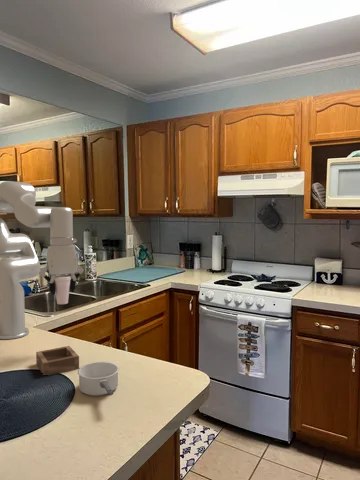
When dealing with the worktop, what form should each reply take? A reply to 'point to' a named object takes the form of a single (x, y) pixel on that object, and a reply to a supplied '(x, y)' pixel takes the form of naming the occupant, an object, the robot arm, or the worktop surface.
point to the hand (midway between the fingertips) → (62, 292)
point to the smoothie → (62, 288)
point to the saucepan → (98, 378)
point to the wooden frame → (57, 360)
